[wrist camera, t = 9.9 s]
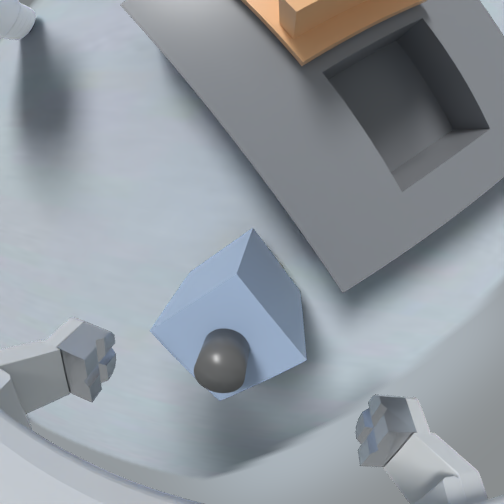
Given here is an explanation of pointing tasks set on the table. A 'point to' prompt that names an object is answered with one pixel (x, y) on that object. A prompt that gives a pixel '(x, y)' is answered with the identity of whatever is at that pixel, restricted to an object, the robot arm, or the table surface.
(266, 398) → the table surface
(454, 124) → the socket block
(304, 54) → the panel
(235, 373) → the plug
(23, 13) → the lightbulb
